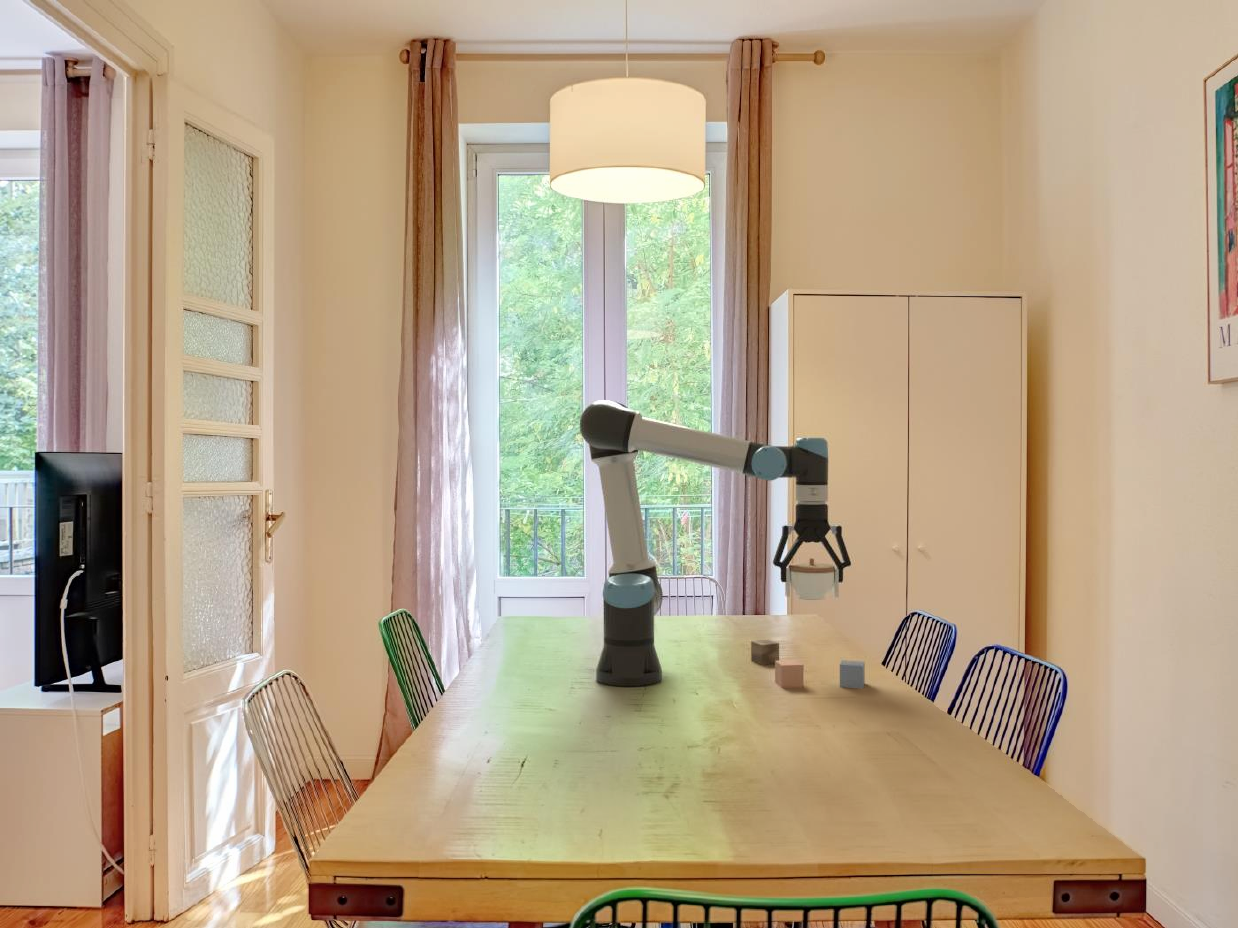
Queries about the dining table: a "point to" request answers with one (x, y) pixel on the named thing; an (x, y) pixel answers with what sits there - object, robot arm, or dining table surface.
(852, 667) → the cube slate
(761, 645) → the cube walnut
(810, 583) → the lidded jar
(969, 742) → the dining table surface
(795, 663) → the cube terracotta
